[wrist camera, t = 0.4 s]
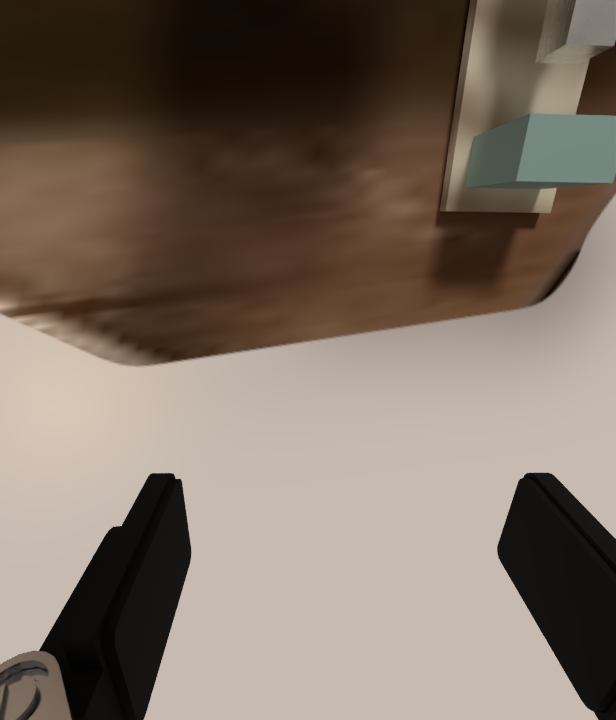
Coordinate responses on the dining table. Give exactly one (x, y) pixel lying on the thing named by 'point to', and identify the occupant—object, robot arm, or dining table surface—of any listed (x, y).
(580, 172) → the socket block
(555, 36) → the tube
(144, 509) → the robot arm
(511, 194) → the base board
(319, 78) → the dining table surface
